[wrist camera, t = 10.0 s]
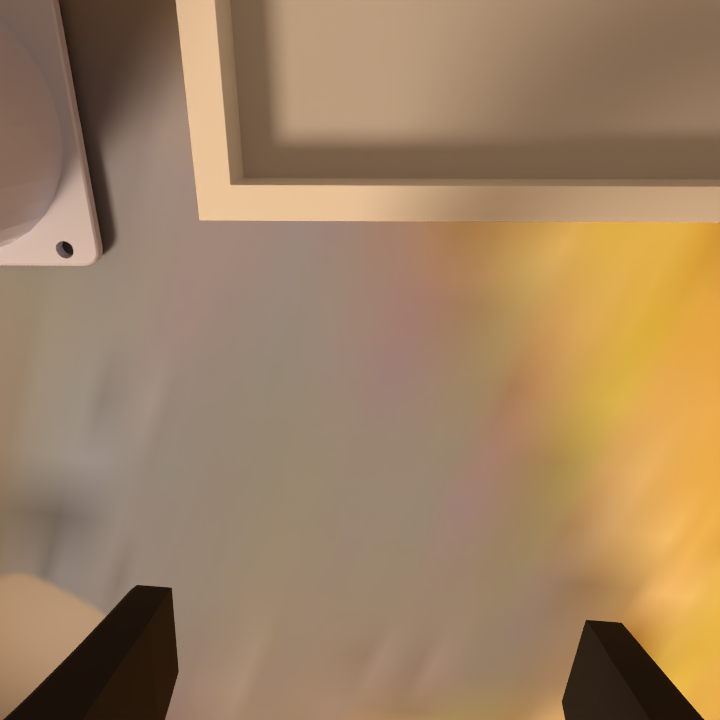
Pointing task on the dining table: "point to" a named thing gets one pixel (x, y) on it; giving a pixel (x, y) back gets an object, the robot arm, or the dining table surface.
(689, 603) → the dining table surface
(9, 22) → the robot arm
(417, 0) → the open box
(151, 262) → the dining table surface
